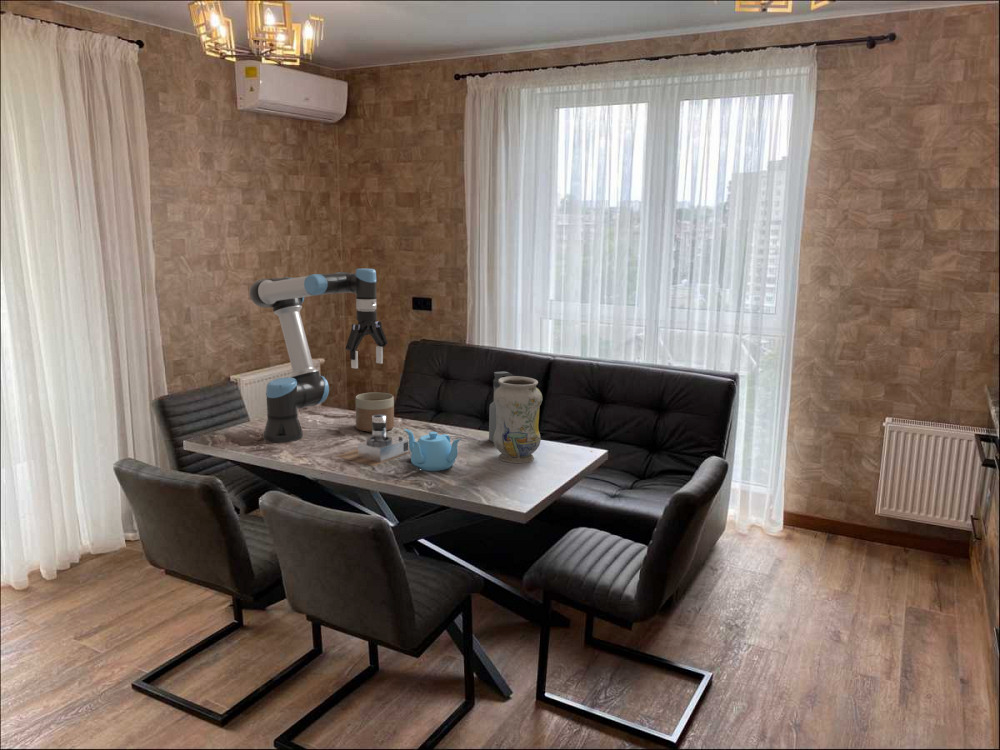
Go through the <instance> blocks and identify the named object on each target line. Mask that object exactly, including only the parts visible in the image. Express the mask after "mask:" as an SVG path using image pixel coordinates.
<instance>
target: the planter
mask: <svg viewBox="0 0 1000 750" xmlns="http://www.w3.org/2000/svg"><path fill="white" fill-rule="evenodd" d="M394 398H395V397H394V395H393V394H391V393H387V392H365V393H360V394H359V393H358V394H357V395H356V396H355V427H356V429H357V430H359V431H362V432H365V431H366V432H365V433H372V416H373V415H376V414H383V415H386V432H387V431H390V430H391V429H393V428H394V427H395V407H394V406H395V399H394Z"/></svg>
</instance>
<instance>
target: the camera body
mask: <svg viewBox="0 0 1000 750" xmlns="http://www.w3.org/2000/svg"><path fill="white" fill-rule="evenodd" d="M357 449H358V457H362V458H366V459H370V460H374V461H378V462H383V461H385V460H388V459H391V458H394V457H397V456H399V455H402V454H405V453H408V452H409V438H408V439H407V438H405V437H404V436H394V435H389V434H386V441H373V435H371V436H368V437H367V438H366V440H364V441H362V442H358V443H357Z"/></svg>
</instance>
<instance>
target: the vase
mask: <svg viewBox="0 0 1000 750" xmlns="http://www.w3.org/2000/svg"><path fill="white" fill-rule="evenodd" d="M498 382H499V384H500V387H498V388H497V389H496V391H495V393H494V392H493V401H494V402H495V405H496V430H495V433H494V436H493V441H494V442H493V445H494V446H495V448H496V450H497V451H498V452H499V453H500V454H499V456H498V458H499V459H500V461H503V462H506V463H511V464H524V463H530V462H532V461H533V460H534V459H535V458H534V455H533V454H534V453H535V452H536V451H537V450H538V449H539V447H540V444H541V439H542V438H541V434H540V431H539V421H540V408H541V407H540V406H541V405H542V402H543V394H542V392H541V390H540V389H539V388H538V387H537V385H538V384H539V381H538V380H537V379H535V378H532V377H527V376H519V375H517V376H516V375H514V376H502V378H500V379H499V380H498Z"/></svg>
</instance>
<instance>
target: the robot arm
mask: <svg viewBox="0 0 1000 750" xmlns="http://www.w3.org/2000/svg"><path fill="white" fill-rule="evenodd" d="M377 280H378V279H377V271H376V269H374V268H363V267H362V268H356V269H355V273H354V272H352V273H351V272H345V271H343V272H342V271H339V272H333V273H314V274H308V275H307V276H306V275H305V276H300V277H287V276H286V277H277V278H276V277H275V278H262V279H258V280H256V281H254V282H253V283H252V284H251V285H250V288H249V298H250V300H251V301H252V303H253V304H255V306H258V307H260V308H267V309H268V308H272V312H273V314H274V315H276V316H277V317H278V318H279V323H280V326H281V330H282V335H283V339H284V342H285V346H286V350H287V351H286V352H287V355H288V358H289V362H290V365H291V370H292V374H291V376H290V377H289V376H288V377H283V378H282V377H280V378H279V377H278V378H275V379H273V380H270V381H269V382H268V383H267V384H266V387H265V388H266V389H265V390H266V392H265V395H266V396H265V397H266V415H267V419H266V423H265V427H264V431H263V440H264V441H267V442H272V443H289V442H293V441H297V440H300V439H302V438H303V429H302V426H301V424H300V421H299V417H298V416H299V415H298V409H299V410H300V409H303V408H307V407H312V406H313V407H314V406H317V405H321V404H323V403H324V402H325V401H326V400H327V398H328V396H329V392H330V386H329V382H328V379H326V377H325V376H323V375H321V373H320V371H319V369H317V368H316V367H315V366H314V362H313V358H312V354H311V351H310V347H309V343H308V338H307V335H306V332H305V327H304V324H303V320H302V317H301V310H302V308H303V305H302V304H304V301H305V298H308V297H312V296H313V297H314V296H315V297H316V296H322V295H323V296H324V295H330V294H331V295H332V294H335V295H336V294H345V293H346V294H348V293H349V294H355V297H356V304H355V305H356V306H355V307H356V313H355V314H356V320H357V322H358V323H357V324H356V323H352V324H351V327H350V328H351V330H350V334H349V336H348V339H347V343H346V345H345V350H347V351H349V359H350V362H351V364H350V365H351V366H350V368H352V369H359V356H358V355H359V354H358V353H359V351H357V349H358V348H359V346H360V344H361V342H362V340H363V338H364V337H366V336H368V335H369V336H371V337H372V339H373V340H374V342H375V344H376V346H375V356H376V357H375V360H376V361H375V363H376V364H381V365H382V364H383V363H384V362H383V361H384V347H386V345H387V344H388V340H387V337H386V335H385V332H384V329H383V326H382V321H379V320H378V317H377V315H378V314H377V313H378V311H377V282H378V281H377ZM377 320H378V321H377Z"/></svg>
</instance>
